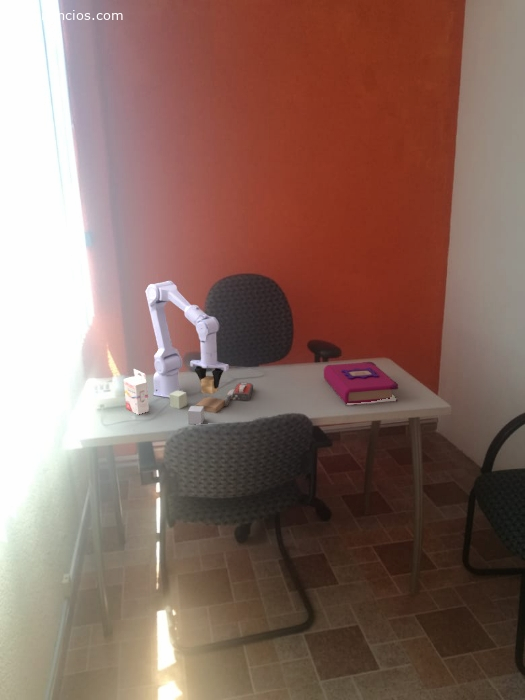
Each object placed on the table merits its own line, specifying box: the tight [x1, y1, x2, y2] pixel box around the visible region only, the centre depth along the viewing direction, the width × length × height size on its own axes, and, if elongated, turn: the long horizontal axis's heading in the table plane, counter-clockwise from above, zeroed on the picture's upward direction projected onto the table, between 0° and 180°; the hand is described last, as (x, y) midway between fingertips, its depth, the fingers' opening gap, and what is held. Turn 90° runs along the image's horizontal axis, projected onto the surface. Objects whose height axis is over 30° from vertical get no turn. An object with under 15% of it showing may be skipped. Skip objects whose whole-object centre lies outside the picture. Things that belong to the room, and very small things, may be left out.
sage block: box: [168, 390, 188, 410], centre depth 206 cm, size 4×4×5 cm
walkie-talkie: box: [224, 382, 254, 407], centre depth 213 cm, size 9×4×20 cm
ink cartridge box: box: [123, 368, 150, 416], centre depth 201 cm, size 9×5×15 cm, turn 44°
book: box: [323, 361, 399, 405], centre depth 219 cm, size 21×28×8 cm
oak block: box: [200, 375, 219, 395], centre depth 202 cm, size 4×4×5 cm
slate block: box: [187, 405, 205, 425], centre depth 193 cm, size 4×4×5 cm
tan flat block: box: [195, 396, 226, 414], centre depth 205 cm, size 8×8×2 cm
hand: (210, 386), depth 203 cm, fingers closed on oak block, 5 cm apart
